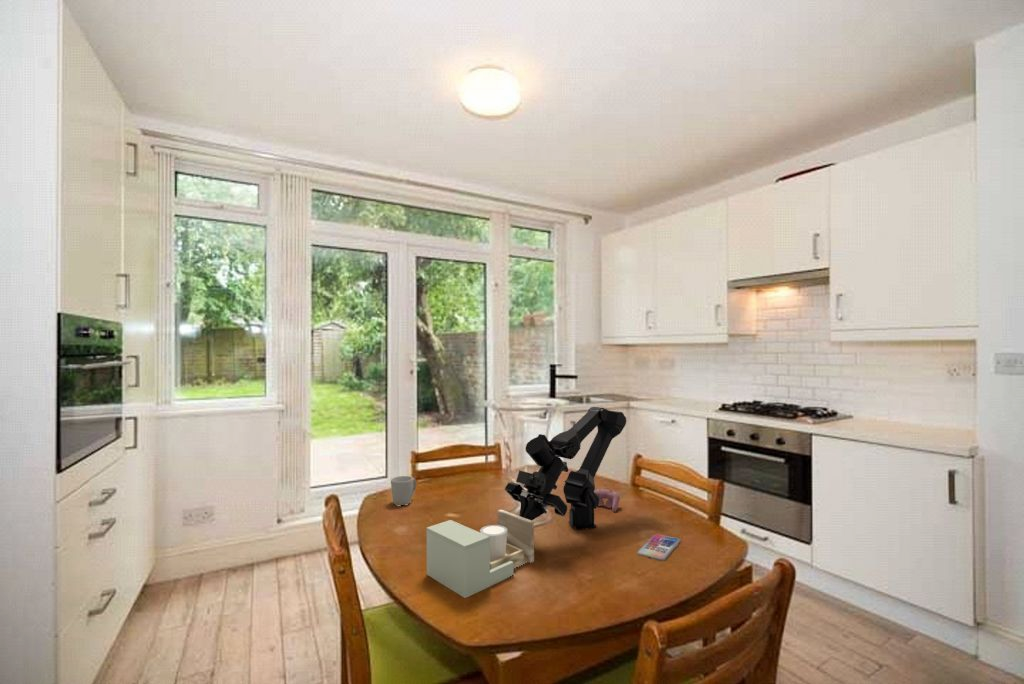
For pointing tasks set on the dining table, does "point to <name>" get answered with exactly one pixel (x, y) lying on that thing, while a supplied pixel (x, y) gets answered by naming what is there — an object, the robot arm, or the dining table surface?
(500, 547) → the grey and white tumbler
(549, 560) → the dining table surface
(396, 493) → the cup
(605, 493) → the video game controller
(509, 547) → the drawer
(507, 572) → the caddy
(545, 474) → the robot arm
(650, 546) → the smartphone
